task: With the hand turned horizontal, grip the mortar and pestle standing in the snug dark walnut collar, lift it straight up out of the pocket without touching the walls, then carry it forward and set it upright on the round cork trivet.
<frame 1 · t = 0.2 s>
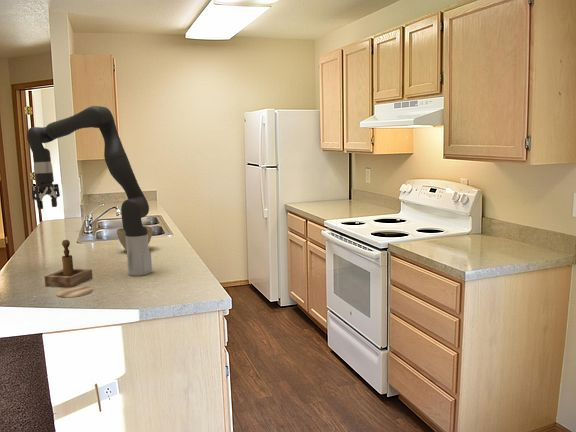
hand: (47, 208, 233), 29 cm above the countertop, tool pointing down, fingers open, 8 cm apart
walnut collar: (69, 282, 215), on the countertop
mortar and pestle: (69, 282, 215), resting in walnut collar
cork trivet: (75, 292, 200), on the countertop
flower pot: (136, 251, 273), on the countertop
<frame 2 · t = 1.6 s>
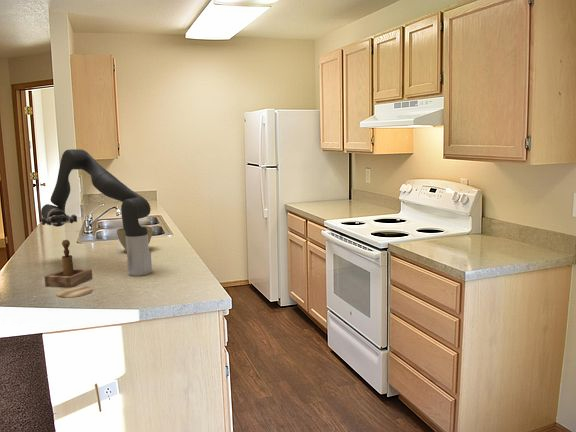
hand: (61, 221, 221), 24 cm above the countertop, tool horizontal, fingers open, 8 cm apart
nothing on the countertop moved.
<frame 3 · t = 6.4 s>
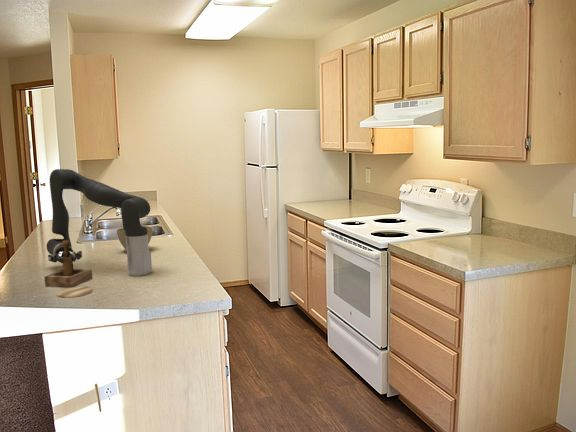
hand: (68, 260, 211), 10 cm above the countertop, tool horizontal, fingers closed on mortar and pestle, 4 cm apart
mortar and pestle: (69, 282, 215), resting in walnut collar, touching gripper
everything else where it was.
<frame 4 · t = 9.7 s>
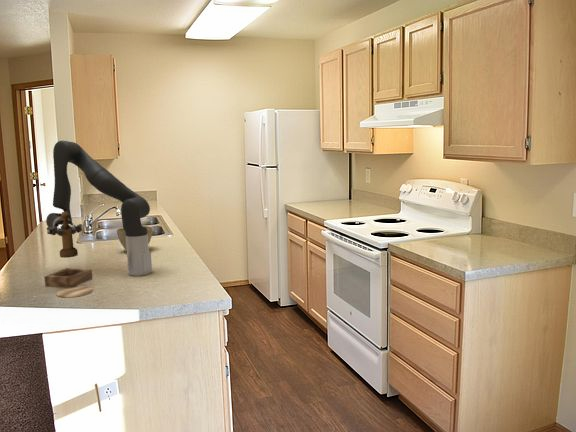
hand: (67, 232, 203), 23 cm above the countertop, tool horizontal, fingers closed on mortar and pestle, 4 cm apart
mortar and pestle: (69, 256, 207), point 13 cm above the countertop, touching gripper
everything else where it was.
when the fingers open (12 cm above the countertop, at t = 13.3 s): mortar and pestle drops 1 cm, resting on cork trivet.
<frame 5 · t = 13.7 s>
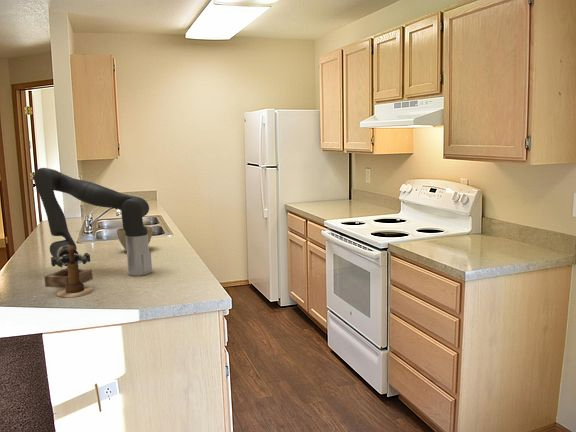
hand: (73, 263, 196), 12 cm above the countertop, tool horizontal, fingers open, 8 cm apart
mortar and pestle: (75, 291, 200), resting on cork trivet
everything else where it was.
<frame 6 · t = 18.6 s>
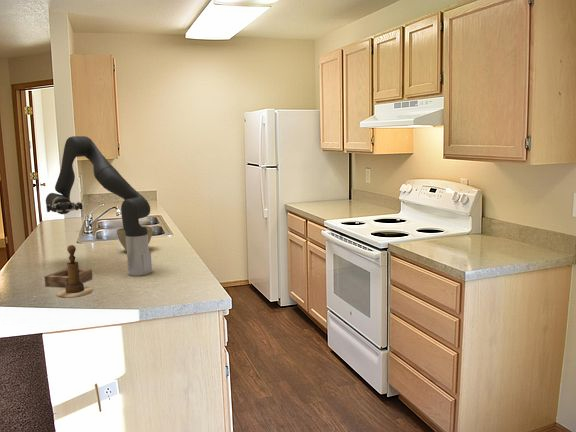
hand: (66, 208, 218), 30 cm above the countertop, tool horizontal, fingers open, 8 cm apart
nothing on the countertop moved.
at the end: mortar and pestle inside the target area on the cork trivet (0.1 cm from its centre), point 0.4 cm above the cork trivet's base; mortar and pestle tilted 0°; the gripper is holding nothing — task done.
